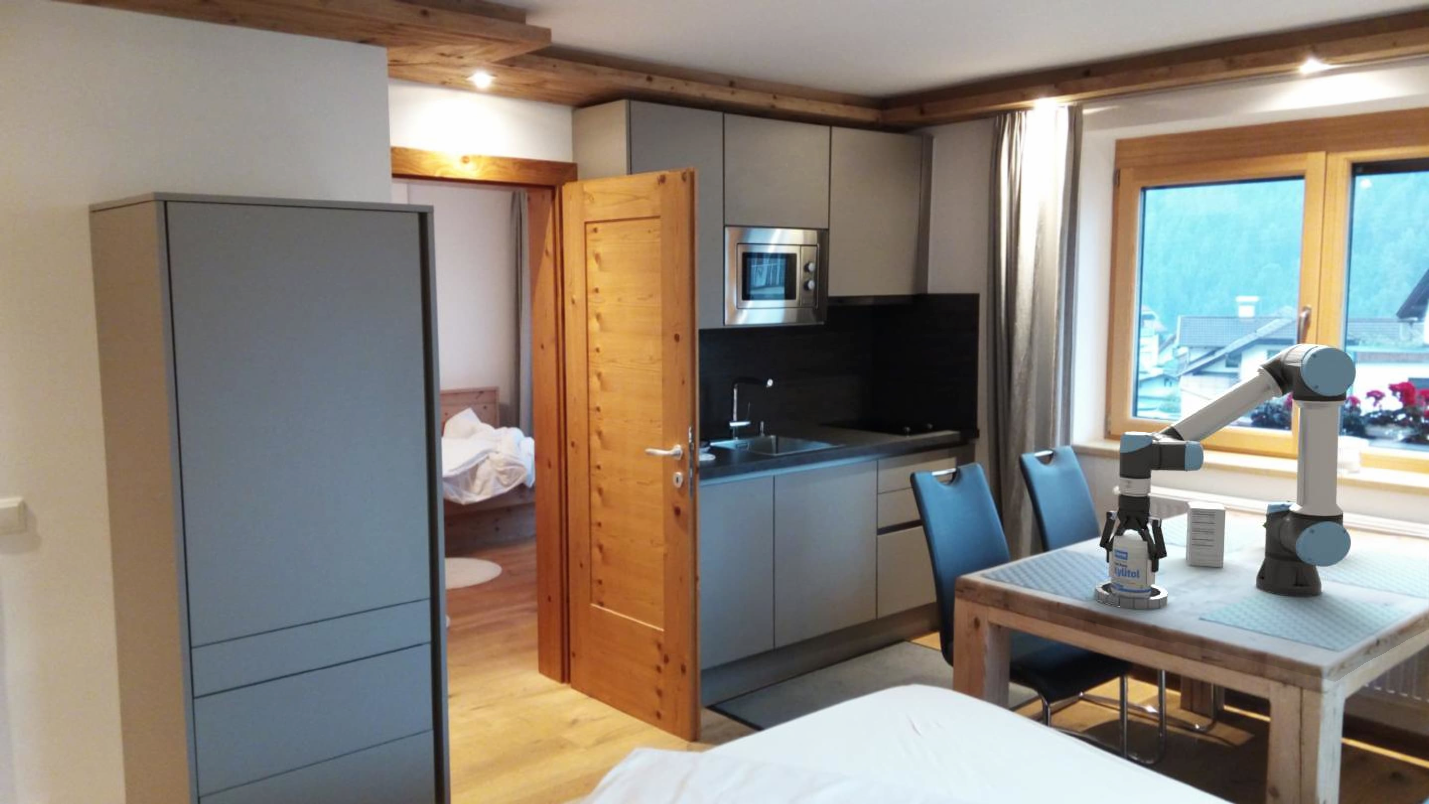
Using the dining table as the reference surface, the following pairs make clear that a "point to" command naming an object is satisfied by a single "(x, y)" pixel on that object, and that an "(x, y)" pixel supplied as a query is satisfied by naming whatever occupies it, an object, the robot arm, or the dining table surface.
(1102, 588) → the collar
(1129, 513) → the robot arm
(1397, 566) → the dining table surface
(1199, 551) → the supplement box
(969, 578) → the dining table surface
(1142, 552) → the supplement tub
